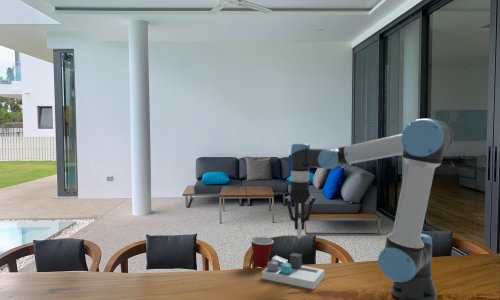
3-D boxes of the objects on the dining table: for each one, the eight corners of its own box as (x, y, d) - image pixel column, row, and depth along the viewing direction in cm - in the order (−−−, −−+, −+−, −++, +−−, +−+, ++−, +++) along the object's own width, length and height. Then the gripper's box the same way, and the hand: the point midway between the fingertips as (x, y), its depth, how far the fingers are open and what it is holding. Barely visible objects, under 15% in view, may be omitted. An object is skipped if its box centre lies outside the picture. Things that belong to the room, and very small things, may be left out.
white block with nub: (287, 263, 155) (288, 260, 154) (283, 266, 151) (284, 263, 151) (275, 258, 157) (275, 255, 157) (271, 261, 154) (271, 258, 154)
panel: (324, 276, 148) (324, 267, 148) (313, 289, 136) (313, 279, 136) (276, 267, 159) (276, 258, 159) (262, 278, 147) (262, 269, 146)
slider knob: (301, 265, 151) (301, 254, 151) (298, 268, 148) (298, 257, 148) (293, 264, 153) (293, 252, 153) (289, 267, 150) (289, 255, 150)
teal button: (292, 271, 146) (292, 264, 146) (288, 275, 142) (288, 267, 142) (283, 269, 148) (283, 262, 148) (278, 273, 144) (278, 266, 144)
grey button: (279, 269, 149) (279, 262, 149) (275, 272, 145) (275, 265, 145) (270, 267, 151) (270, 260, 151) (265, 270, 147) (265, 263, 147)
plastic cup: (273, 270, 156) (273, 243, 155) (249, 269, 157) (249, 242, 156) (274, 261, 167) (274, 236, 166) (251, 260, 168) (251, 235, 167)
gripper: (313, 179, 150) (313, 234, 151) (283, 179, 150) (282, 234, 151) (317, 182, 143) (316, 239, 144) (285, 181, 143) (284, 239, 144)
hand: (299, 237), depth 148 cm, fingers closed
